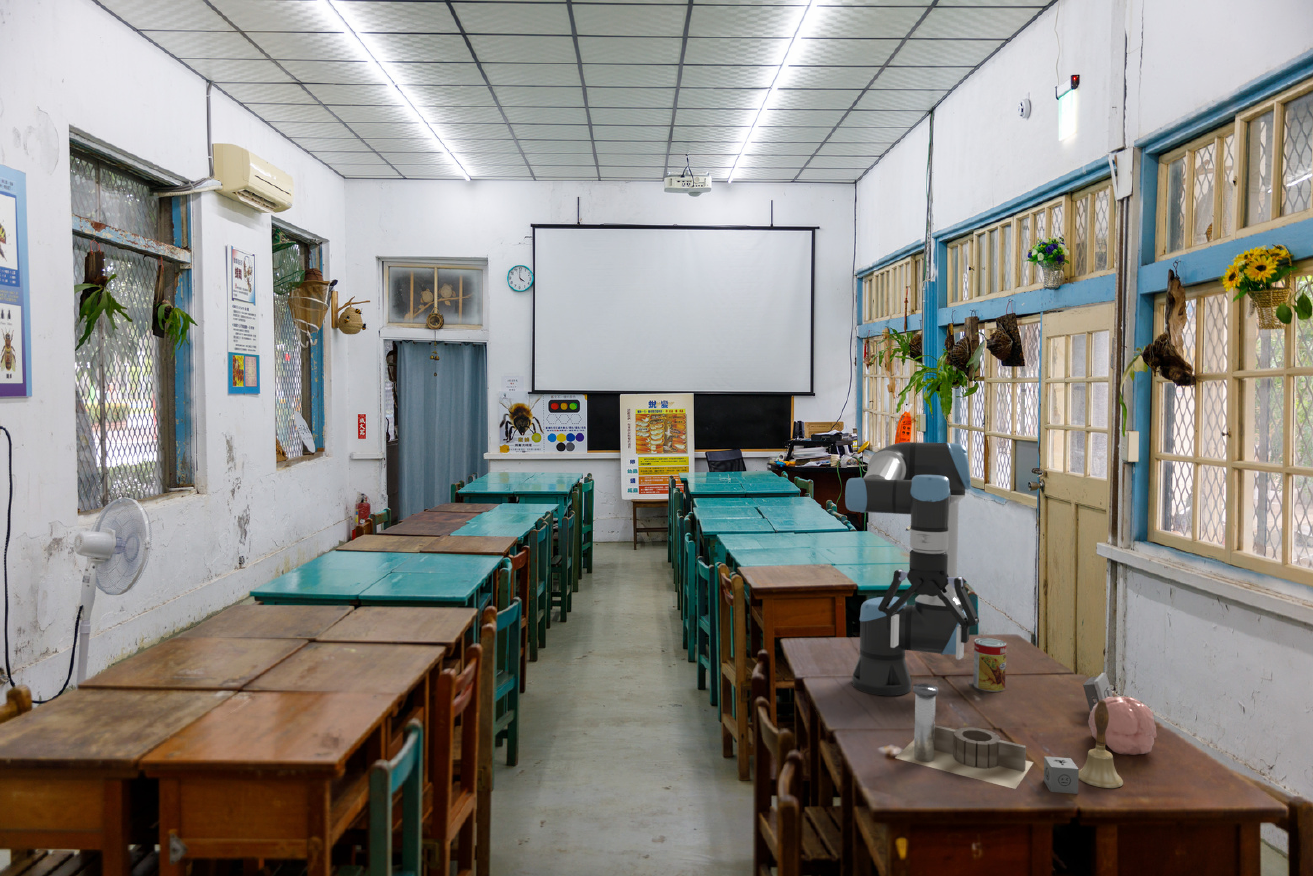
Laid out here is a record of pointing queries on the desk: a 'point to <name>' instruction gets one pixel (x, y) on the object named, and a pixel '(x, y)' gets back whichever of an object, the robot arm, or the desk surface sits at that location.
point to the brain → (1127, 726)
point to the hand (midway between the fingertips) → (926, 652)
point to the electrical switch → (1097, 689)
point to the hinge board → (968, 771)
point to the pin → (924, 721)
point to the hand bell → (1100, 756)
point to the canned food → (989, 664)
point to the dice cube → (1061, 775)
